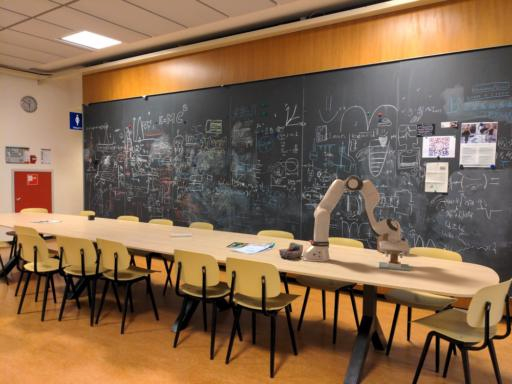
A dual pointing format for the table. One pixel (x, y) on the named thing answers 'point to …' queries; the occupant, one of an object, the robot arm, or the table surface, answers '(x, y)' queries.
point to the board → (394, 266)
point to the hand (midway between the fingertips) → (394, 256)
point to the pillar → (394, 257)
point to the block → (382, 237)
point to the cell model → (292, 251)
